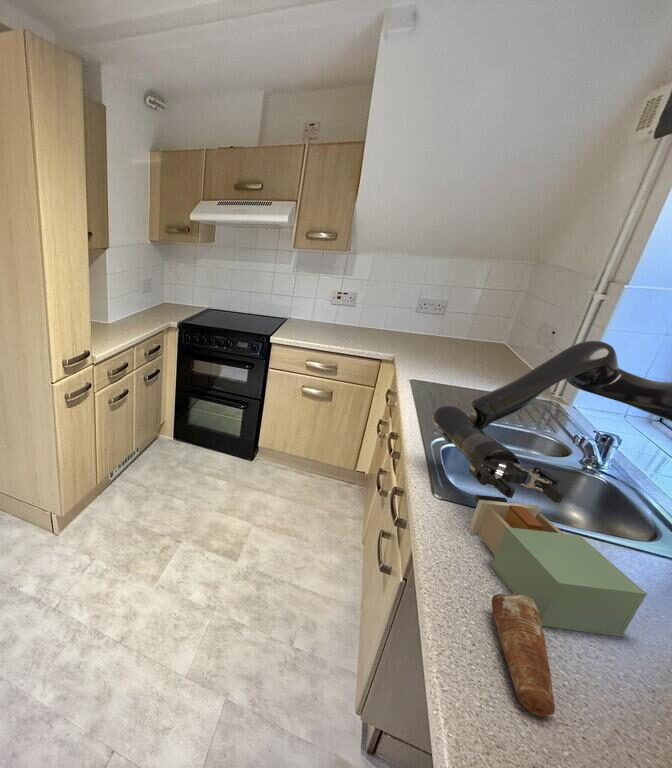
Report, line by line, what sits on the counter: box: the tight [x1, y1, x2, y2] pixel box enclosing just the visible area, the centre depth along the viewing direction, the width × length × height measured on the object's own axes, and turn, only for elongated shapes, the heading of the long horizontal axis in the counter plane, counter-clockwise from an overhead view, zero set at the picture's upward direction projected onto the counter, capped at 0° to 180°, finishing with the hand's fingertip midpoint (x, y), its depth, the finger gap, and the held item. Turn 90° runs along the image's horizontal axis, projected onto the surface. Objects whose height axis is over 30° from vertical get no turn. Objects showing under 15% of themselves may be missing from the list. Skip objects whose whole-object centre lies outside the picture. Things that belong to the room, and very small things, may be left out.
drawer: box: [468, 494, 563, 556], centre depth 87 cm, size 18×11×8 cm, turn 171°
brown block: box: [504, 505, 544, 531], centre depth 84 cm, size 3×6×8 cm, turn 170°
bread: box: [491, 593, 556, 717], centre depth 64 cm, size 6×19×6 cm, turn 147°
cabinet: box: [491, 527, 648, 638], centre depth 74 cm, size 14×13×10 cm
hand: (535, 496), depth 81 cm, fingers open, 8 cm apart
